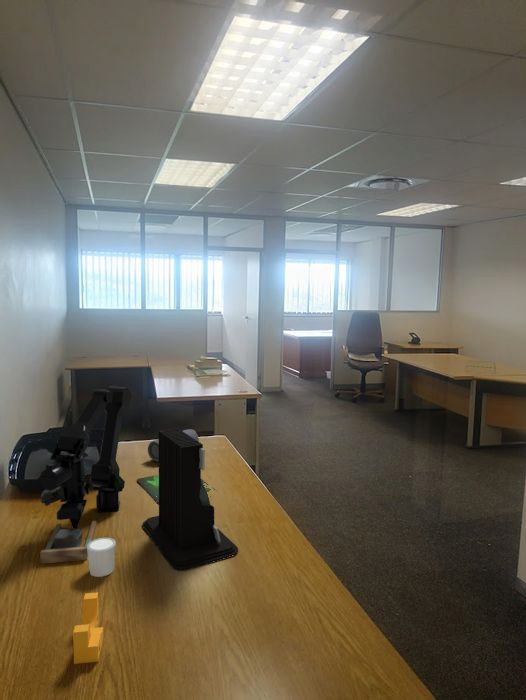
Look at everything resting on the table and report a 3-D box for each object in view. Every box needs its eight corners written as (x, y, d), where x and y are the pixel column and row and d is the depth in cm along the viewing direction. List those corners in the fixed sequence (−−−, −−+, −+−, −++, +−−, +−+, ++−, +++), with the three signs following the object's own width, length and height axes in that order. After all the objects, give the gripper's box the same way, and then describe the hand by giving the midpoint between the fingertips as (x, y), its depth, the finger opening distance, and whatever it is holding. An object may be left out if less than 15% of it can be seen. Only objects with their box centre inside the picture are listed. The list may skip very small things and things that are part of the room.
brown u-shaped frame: (96, 524, 145) (96, 515, 145) (86, 559, 126) (86, 548, 126) (56, 527, 143) (56, 517, 143) (40, 563, 124) (40, 552, 123)
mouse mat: (221, 495, 170) (221, 492, 169) (161, 508, 158) (161, 505, 158) (189, 470, 192) (189, 468, 192) (134, 481, 181) (134, 478, 180)
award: (242, 554, 130) (243, 446, 127) (176, 573, 121) (176, 457, 117) (197, 510, 156) (197, 419, 153) (139, 523, 147) (138, 427, 143)
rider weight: (82, 542, 135) (82, 529, 134) (77, 552, 130) (76, 537, 130) (60, 543, 134) (60, 529, 134) (54, 552, 130) (53, 538, 129)
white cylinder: (121, 566, 123) (121, 539, 123) (104, 580, 117) (104, 553, 116) (99, 560, 126) (98, 535, 125) (81, 574, 119) (80, 547, 118)
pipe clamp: (98, 662, 91) (97, 630, 91) (74, 664, 91) (73, 632, 90) (107, 620, 103) (106, 591, 102) (86, 622, 102) (85, 593, 102)
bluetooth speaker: (163, 466, 196) (162, 442, 195) (146, 461, 201) (146, 438, 200) (199, 451, 215) (199, 429, 214) (184, 447, 220) (184, 426, 219)
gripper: (50, 466, 145) (52, 516, 147) (35, 492, 127) (37, 547, 129) (89, 464, 148) (90, 512, 150) (79, 488, 130) (81, 543, 132)
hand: (75, 528), depth 140 cm, fingers closed
